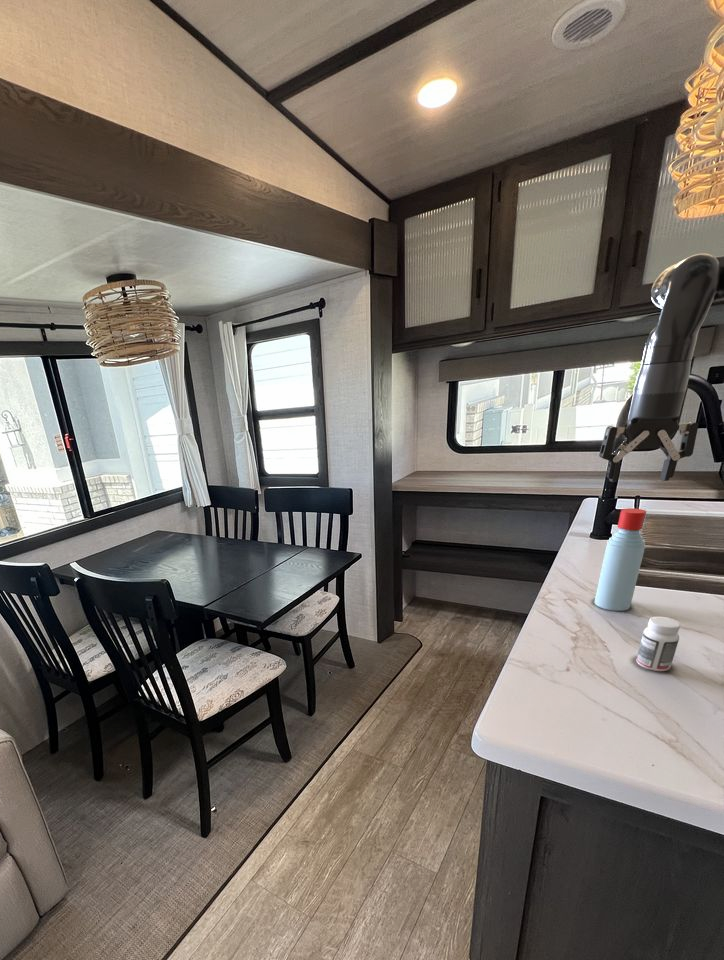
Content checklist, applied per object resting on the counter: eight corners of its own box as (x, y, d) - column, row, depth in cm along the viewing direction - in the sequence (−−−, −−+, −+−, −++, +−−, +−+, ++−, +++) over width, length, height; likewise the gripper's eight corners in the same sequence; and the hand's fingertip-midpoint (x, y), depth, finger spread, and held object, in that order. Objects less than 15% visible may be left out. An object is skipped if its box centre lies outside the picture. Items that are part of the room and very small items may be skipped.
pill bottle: (668, 660, 81) (681, 618, 78) (671, 674, 78) (685, 630, 74) (634, 654, 84) (646, 613, 80) (636, 668, 80) (648, 625, 77)
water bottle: (629, 601, 102) (652, 510, 94) (630, 612, 98) (654, 518, 90) (594, 596, 106) (613, 509, 98) (594, 607, 101) (613, 516, 93)
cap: (617, 529, 94) (620, 512, 93) (617, 524, 97) (620, 507, 96) (642, 530, 92) (646, 513, 91) (641, 525, 95) (645, 508, 94)
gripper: (620, 394, 84) (601, 485, 90) (718, 387, 79) (691, 483, 86) (607, 393, 90) (590, 478, 97) (697, 386, 86) (673, 476, 92)
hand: (638, 480), depth 91 cm, fingers open, 8 cm apart
